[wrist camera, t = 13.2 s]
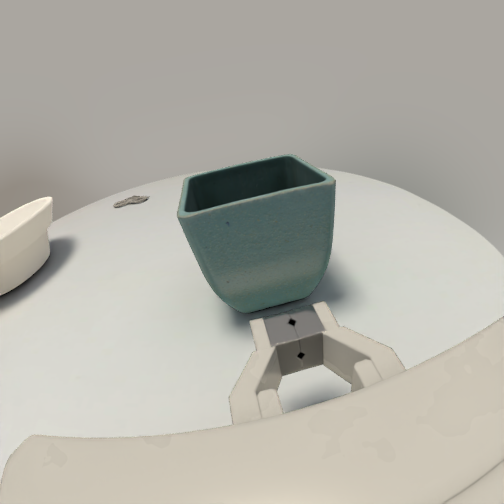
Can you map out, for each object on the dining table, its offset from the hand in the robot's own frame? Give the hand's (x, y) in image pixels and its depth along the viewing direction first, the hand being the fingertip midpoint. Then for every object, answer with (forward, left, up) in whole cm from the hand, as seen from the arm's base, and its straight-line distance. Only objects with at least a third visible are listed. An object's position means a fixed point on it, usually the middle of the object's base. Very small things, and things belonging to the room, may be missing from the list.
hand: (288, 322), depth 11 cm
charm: (+45, +18, -6) cm, 49 cm away
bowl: (+26, +35, -6) cm, 44 cm away
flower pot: (+10, 0, -6) cm, 12 cm away
